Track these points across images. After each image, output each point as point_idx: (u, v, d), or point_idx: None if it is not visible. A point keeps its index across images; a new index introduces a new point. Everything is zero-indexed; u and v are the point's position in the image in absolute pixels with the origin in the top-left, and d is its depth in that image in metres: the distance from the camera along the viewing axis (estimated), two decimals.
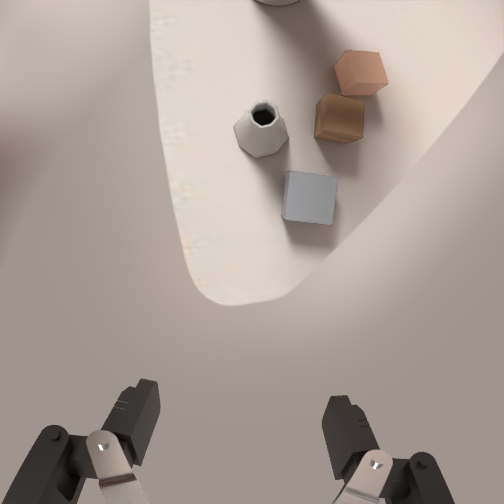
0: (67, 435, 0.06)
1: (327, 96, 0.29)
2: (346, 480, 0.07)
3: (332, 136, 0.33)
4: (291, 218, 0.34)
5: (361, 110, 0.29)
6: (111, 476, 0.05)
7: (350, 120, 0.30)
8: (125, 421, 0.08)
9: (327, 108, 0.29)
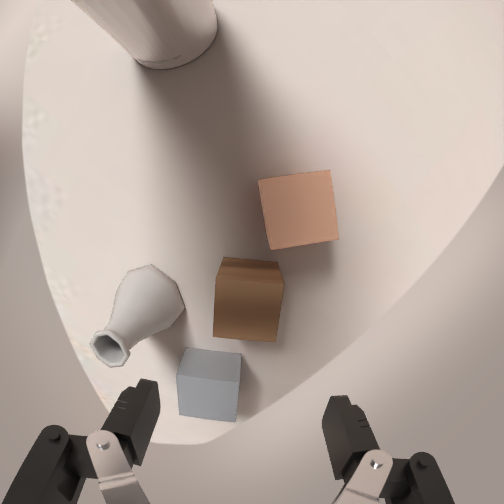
0: (67, 435, 0.06)
1: (217, 284, 0.20)
2: (346, 479, 0.07)
3: None
4: (186, 414, 0.25)
5: (277, 301, 0.21)
6: (111, 476, 0.05)
7: (255, 320, 0.21)
8: (125, 421, 0.08)
9: (217, 304, 0.21)
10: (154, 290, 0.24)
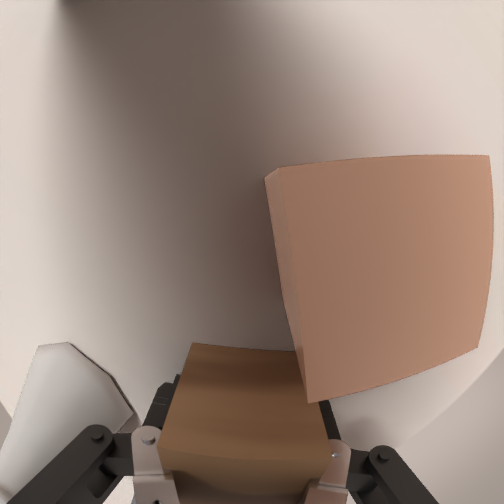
0: (111, 437, 0.07)
1: (162, 455, 0.06)
2: None
3: None
4: None
5: None
6: (162, 470, 0.06)
7: (258, 500, 0.07)
8: None
9: None
10: (69, 397, 0.10)
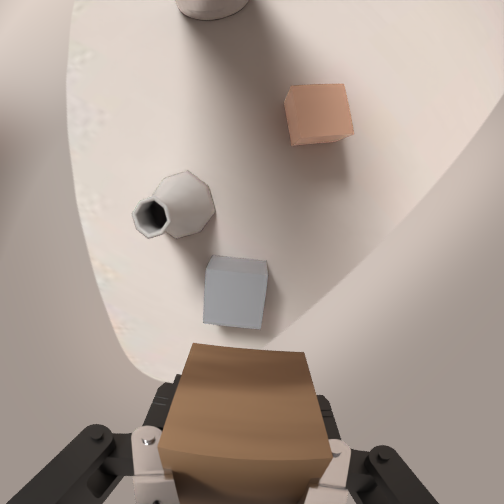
0: (111, 437, 0.07)
1: (163, 455, 0.06)
2: None
3: None
4: (210, 322, 0.28)
5: None
6: (162, 470, 0.06)
7: (258, 500, 0.07)
8: None
9: None
10: (191, 186, 0.27)
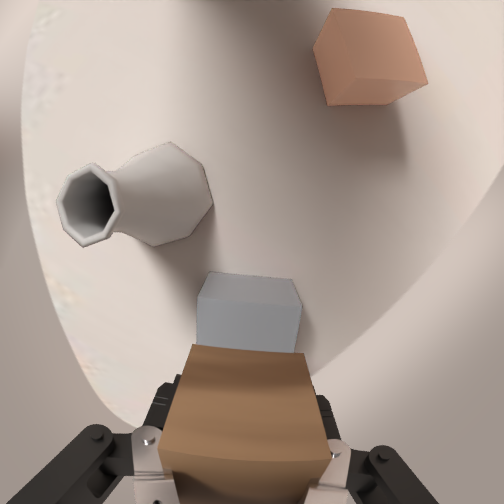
0: (111, 437, 0.07)
1: (163, 456, 0.06)
2: None
3: None
4: None
5: None
6: (162, 470, 0.06)
7: (257, 500, 0.07)
8: None
9: None
10: (174, 162, 0.16)
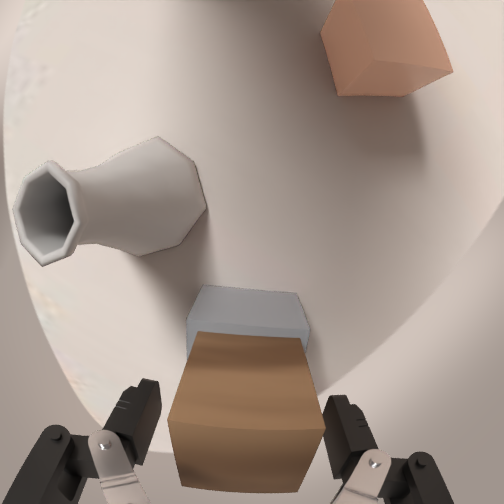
0: (69, 435, 0.06)
1: (172, 429, 0.07)
2: (345, 479, 0.07)
3: None
4: None
5: (307, 452, 0.08)
6: (113, 476, 0.05)
7: (259, 474, 0.08)
8: (127, 421, 0.08)
9: (180, 454, 0.08)
10: (160, 159, 0.13)
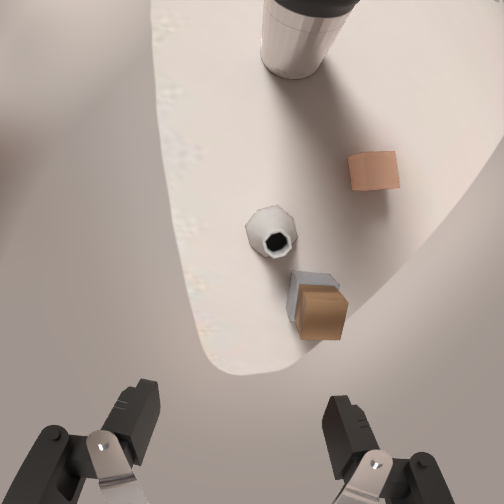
0: (67, 435, 0.06)
1: (307, 305, 0.31)
2: (346, 479, 0.07)
3: None
4: None
5: (343, 314, 0.31)
6: (111, 476, 0.05)
7: (329, 326, 0.31)
8: (125, 421, 0.08)
9: (306, 317, 0.31)
10: (285, 219, 0.37)
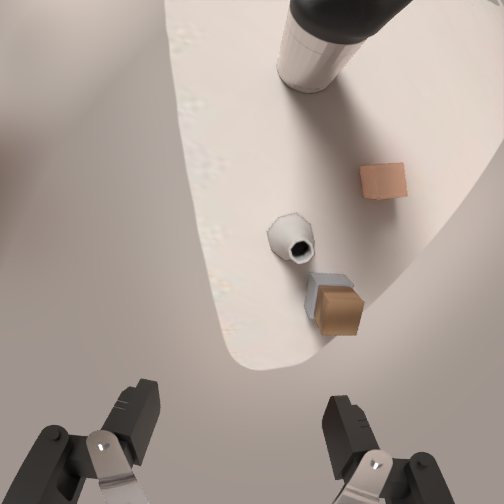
0: (67, 435, 0.06)
1: (329, 304, 0.34)
2: (346, 479, 0.07)
3: None
4: (314, 318, 0.41)
5: (360, 311, 0.34)
6: (111, 476, 0.05)
7: (347, 323, 0.35)
8: (125, 421, 0.08)
9: (327, 315, 0.34)
10: (305, 226, 0.40)
